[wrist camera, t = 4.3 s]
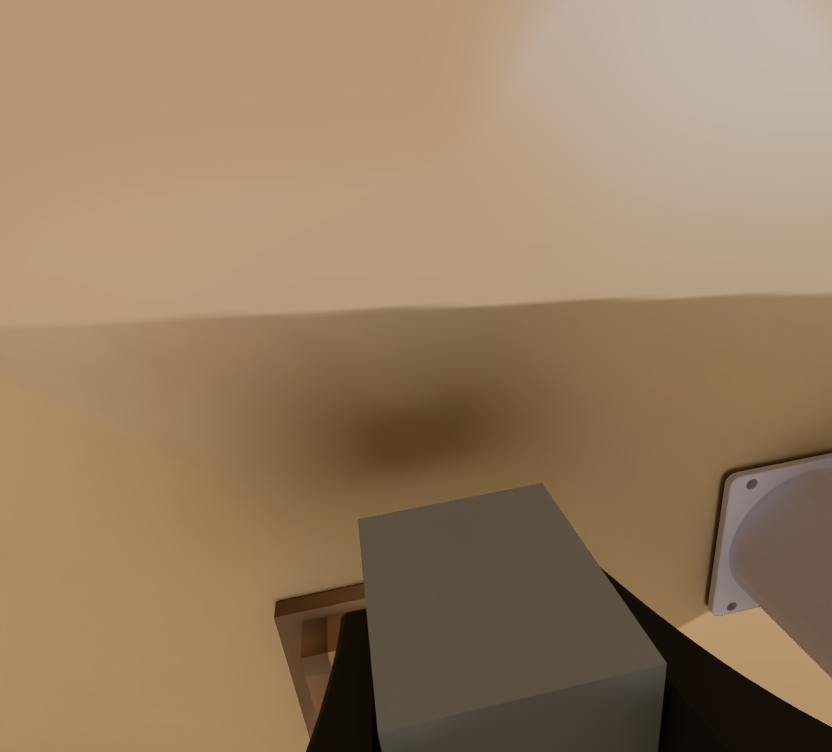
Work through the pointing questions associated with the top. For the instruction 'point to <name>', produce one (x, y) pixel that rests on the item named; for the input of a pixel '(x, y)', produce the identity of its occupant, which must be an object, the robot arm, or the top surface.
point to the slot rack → (314, 641)
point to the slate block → (502, 633)
